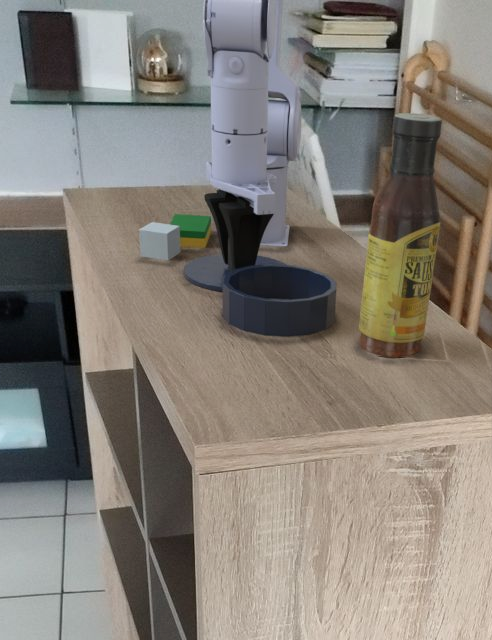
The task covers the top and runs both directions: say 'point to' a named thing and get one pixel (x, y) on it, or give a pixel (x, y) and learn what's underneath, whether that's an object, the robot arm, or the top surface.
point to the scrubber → (193, 229)
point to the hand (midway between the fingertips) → (238, 267)
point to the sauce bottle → (402, 242)
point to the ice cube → (159, 241)
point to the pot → (279, 300)
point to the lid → (216, 269)
